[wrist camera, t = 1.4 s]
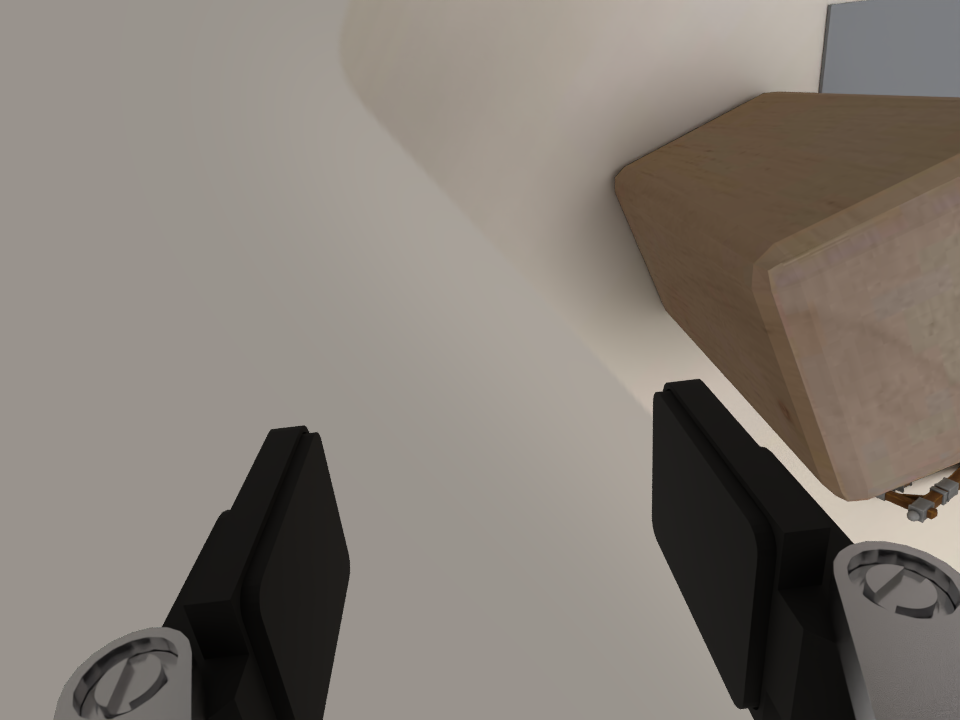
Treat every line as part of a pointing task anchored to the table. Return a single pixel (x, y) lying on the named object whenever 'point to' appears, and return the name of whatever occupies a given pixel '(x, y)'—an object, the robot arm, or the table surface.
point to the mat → (892, 48)
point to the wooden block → (820, 272)
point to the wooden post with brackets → (925, 498)
